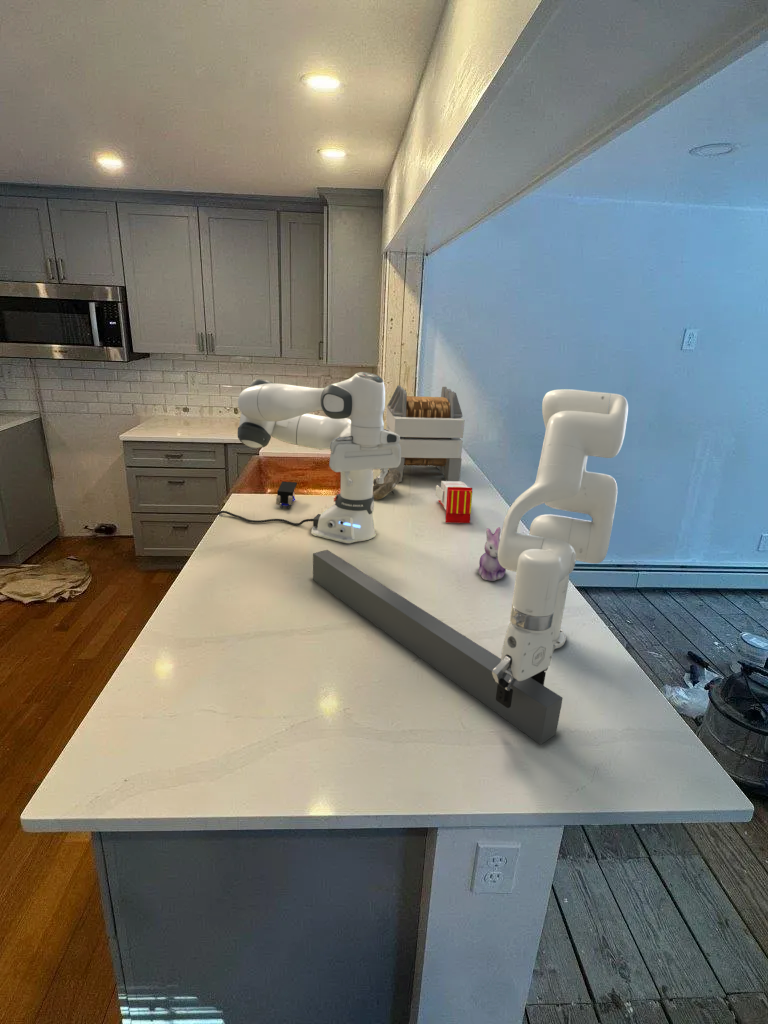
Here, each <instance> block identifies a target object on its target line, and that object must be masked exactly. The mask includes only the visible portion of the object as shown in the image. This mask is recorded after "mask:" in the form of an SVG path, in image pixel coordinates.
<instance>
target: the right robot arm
mask: <svg viewBox="0 0 768 1024" xmlns="http://www.w3.org/2000/svg"><path fill="white" fill-rule="evenodd" d="M541 404H542V405H541V412H542V420H543V423H544V428H545V433H544V437H543V442H542V447H541V452H540V459H539V463H538V467H537V472H536V478H535V482H534V483H533V484H532V485H531V486H530V487H528V488H527V489H526V490H525V491H523V492H522V493H521V494H519V496H517V498H515V500H514V501H513V502H512V504H511V505H510V507H508V509H507V512H506V514H505V517H504V520H503V524H502V528H501V532H500V542H499V547H498V561H499V564H500V565H501V566H502V567H503V568H505V569H506V570H507V571H511V572H515V579H514V586H513V593H512V601H511V610H510V616H509V624H508V626H507V630H506V633H505V638H504V640H503V645H502V649H501V657H500V659H501V662H500V663H499V664H498V665H497V666H496V667H495V668H494V669H493V671H492V675H493V678H494V681H495V682H496V684H498V685H497V693H496V700H497V701H498V702H499V703H501V704H502V705H504V706H505V707H506V708H509V707H511V701H512V694H513V689H511V687H512V686H513V684H514V682H515V681H516V679H517V680H518V681H523V680H526V679H528V678H530V677H531V678H532V679H534V680H535V681H537V682H539V683H540V684H542V685H543V686H545V680H546V674H547V672H548V669H549V667H550V666H551V663H552V660H553V654H554V652H555V650H557V649H560V648H562V647H563V646H564V645H565V643H566V639H567V637H566V633H565V632H564V630H563V629H562V623H563V618H564V617H563V616H564V610H565V605H566V600H567V593H568V587H569V581H570V574H572V572H573V571H574V569H575V566H576V562H581V563H588V564H600V563H602V562H604V560H605V559H606V557H607V554H608V551H609V548H610V547H609V546H610V542H611V537H612V536H611V535H612V530H613V524H614V519H615V513H616V507H617V500H618V483H617V481H616V479H615V478H614V477H613V476H612V475H609V474H606V473H600V472H594V471H588V470H587V463H588V459H589V457H596V458H605V459H613V458H615V457H616V456H618V454H620V453H619V452H620V451H621V449H622V446H623V443H624V439H625V436H626V430H627V422H628V414H629V403H628V400H627V398H626V397H625V396H624V395H622V394H619V393H612V392H603V391H602V392H601V391H592V390H591V391H590V390H583V389H582V390H581V389H569V388H565V389H564V388H562V389H560V388H559V389H553V390H549V391H548V392H546V393H545V394H544V395H543V399H542V403H541ZM543 504H545V506H547V507H548V508H550V509H554V510H559V511H564V512H565V511H566V512H569V513H570V512H571V513H577V514H583V515H588V516H589V517H590V518H591V520H588V519H581V518H575V517H571V516H564V515H559V514H547V513H545V514H540V515H538V516H536V517H535V518H533V520H532V521H531V524H530V526H529V532H528V533H529V534H528V533H521V532H518V527H519V524H520V522H521V520H522V518H523V517H524V515H525V514H527V513H528V512H529V511H530V510H532V509H534V508H536V507H537V506H540V505H543ZM510 668H511V669H512V672H510V671H508V670H509V669H510ZM506 674H508V675H510V676H511V678H510V679H509V681H508V683H507V682H506V681H505V680H504V678H505V676H506Z"/></svg>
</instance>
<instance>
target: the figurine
mask: <svg viewBox="0 0 768 1024" xmlns="http://www.w3.org/2000/svg"><path fill="white" fill-rule="evenodd" d="M501 533H502V528H501V527H500V526H499V527H497V528H496V530H495V531H494V532H492V530H491V529H490V528H489V527H487V528H486V529H485V534H486V542H485V544H484V546H483V547H484V553H483V554H482V555H481V556H480V557H479V567H478V575H479V576H480V577H481V579H483V580H485V581H491V582H495V581H497V580H501V579H503V578H504V576H505V574H506V570H507V569H505V568H503V567H502V566H501V565H500V564H499V561H498V547H499V542H500V537H501Z"/></svg>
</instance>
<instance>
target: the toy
mask: <svg viewBox="0 0 768 1024" xmlns="http://www.w3.org/2000/svg"><path fill="white" fill-rule="evenodd" d="M435 496H436V498H438V500H437V502H438V503H439V504H440V505H441V506H442V507H443V508H444V510H445V524H447V523H448V524H451V523H452V524H470V523H471V514H472V504H473V503H472V502H473V487H469V486H468V485H466V483H465V482H464V481H460V482H459V481H446V480H441V481H440V485H438V484H436V485H435Z"/></svg>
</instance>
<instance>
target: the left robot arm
mask: <svg viewBox="0 0 768 1024" xmlns="http://www.w3.org/2000/svg"><path fill="white" fill-rule="evenodd" d="M237 398H238V399H237V406H238V409H239V411H240V418H239V424H238V425H239V426H238V427H237V439H238V440H239V442H240V443H241V444H243V445H245V446H247V447H249V448H254V449H263V448H265V447H267V446H268V445H269V444H270V441H271V439H272V438H274V439H276V440H278V441H281V442H283V443H287V444H290V445H294V446H299V447H303V448H304V447H305V448H310V449H315V450H319V451H324V450H330V455H329V464H328V466H329V468H330V470H332V471H333V472H334V473H340V490H339V491H338V492H337V494H336V495H335V496H334V497H333V502H334V504H333V505H331V506H329V507H328V508H326V509H325V510H323V512H321V513H318V514H317V515H315V516H314V517H313V518H305V519H302V520H301V521H300V522H292V521H289V520H287V519H283V518H269V519H260V520H259V519H256V520H254V519H248V518H245V517H244V516H241V515H237V514H235V513H233V512H230V511H227V510H220V511H218V512H217V513H215V514H216V515H217V516H219V515H221V514H227V515H230V516H231V517H234V518H238V519H240V520H243V521H245V522H247V523H252V524H261V523H268V522H269V523H270V522H283V523H286V524H289V525H291V526H296V527H297V526H301V525H303V524H304V523H307V522H312V528H311V530H310V533H311V536H315V537H319V538H323V539H326V540H330V541H336V542H339V543H343V544H352V543H357V542H365V541H368V540H372V539H373V538H375V537H376V535H377V532H376V528H375V523H374V513H373V512H374V509H375V499H374V496H373V486H374V484H373V480H374V470H380V473H379V475H378V476H375V478H376V479H377V480H376V483H378V484H383V483H384V477H385V476H386V474H387V473H388V470H389V469H390V468H396V467H398V466H399V465H400V463H401V448H400V445H399V444H398V442H399V441H400V436H399V435H397V434H396V433H394V432H391V431H388V430H386V428H385V423H384V422H385V421H384V414H385V413H384V412H385V409H386V386H385V382H384V379H383V378H382V377H381V376H380V375H377V374H375V373H371V372H366V371H360V372H357V373H356V372H355V374H354V375H353V376H352V377H351V376H350V378H348V379H345V380H342V381H339V382H335V383H330V384H328V385H326V386H324V387H309V386H302V385H301V386H300V385H293V384H286V383H275V382H272V381H270V380H267V379H262V378H261V379H260V378H258V379H254V380H251V382H250V384H249V385H248V387H246V388H244V389H243V390H242V391H240V393H239V395H238V397H237ZM318 411H322V412H323V413H324V414H325V415H319V414H313V412H314V413H315V412H318Z"/></svg>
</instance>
